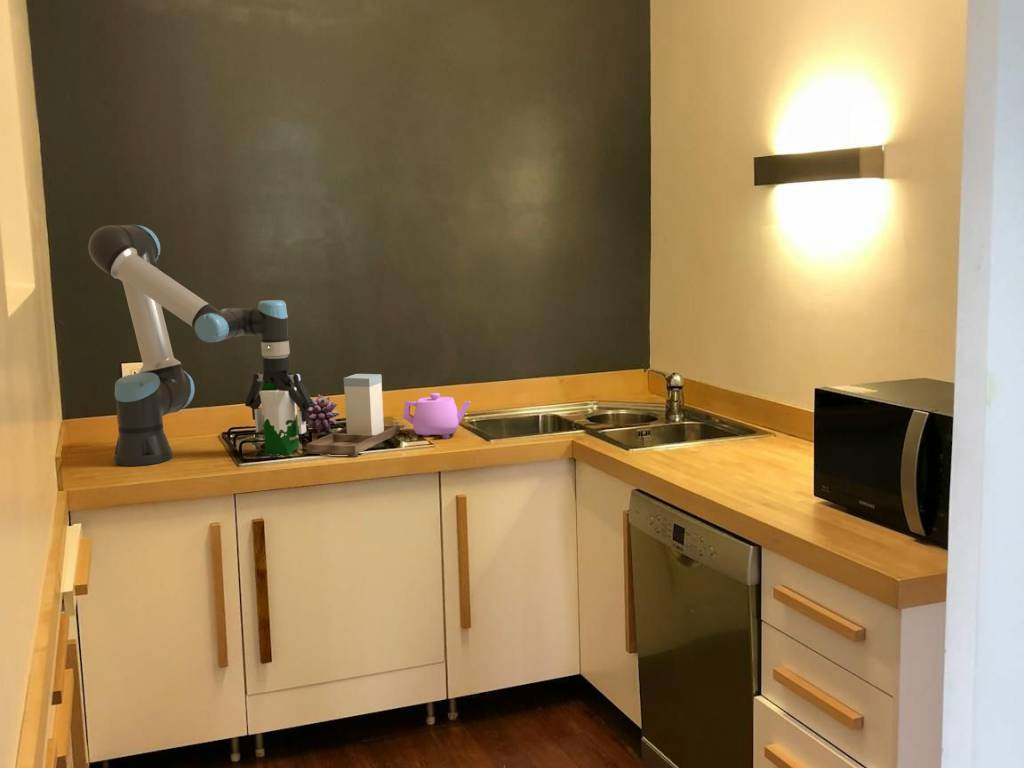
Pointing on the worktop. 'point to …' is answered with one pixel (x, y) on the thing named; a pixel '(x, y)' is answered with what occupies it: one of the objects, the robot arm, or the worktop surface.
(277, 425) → the soya milk
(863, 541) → the worktop surface
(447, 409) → the teapot
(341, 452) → the tray
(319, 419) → the purple spiky ball
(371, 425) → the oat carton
